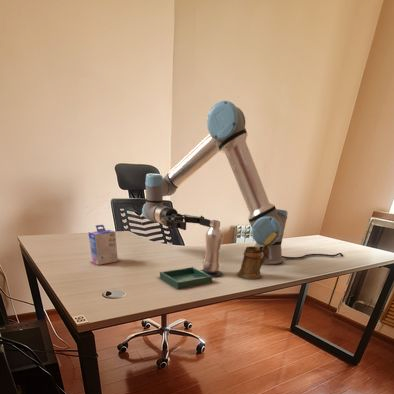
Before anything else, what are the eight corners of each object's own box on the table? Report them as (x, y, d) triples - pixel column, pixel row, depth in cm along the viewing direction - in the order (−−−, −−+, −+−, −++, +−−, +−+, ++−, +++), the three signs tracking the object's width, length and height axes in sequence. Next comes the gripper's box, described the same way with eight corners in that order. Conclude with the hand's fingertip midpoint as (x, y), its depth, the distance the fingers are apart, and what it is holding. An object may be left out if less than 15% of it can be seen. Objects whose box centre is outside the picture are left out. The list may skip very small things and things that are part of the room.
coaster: (212, 268, 131) (212, 268, 131) (226, 275, 125) (226, 274, 125) (195, 271, 126) (195, 270, 126) (208, 278, 120) (209, 277, 120)
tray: (192, 272, 125) (192, 266, 124) (211, 282, 117) (212, 276, 116) (159, 278, 117) (159, 272, 116) (177, 289, 109) (177, 282, 107)
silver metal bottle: (201, 269, 128) (205, 218, 117) (217, 270, 128) (222, 219, 118) (203, 274, 122) (207, 222, 112) (219, 275, 123) (225, 223, 112)
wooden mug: (273, 279, 125) (283, 233, 115) (242, 279, 122) (249, 232, 113) (265, 272, 132) (273, 228, 122) (235, 271, 130) (242, 227, 120)
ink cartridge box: (111, 258, 134) (108, 223, 126) (118, 261, 131) (116, 225, 123) (91, 262, 128) (86, 225, 120) (98, 265, 125) (94, 228, 117)
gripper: (187, 223, 144) (219, 232, 131) (143, 227, 130) (173, 237, 117) (188, 205, 140) (221, 213, 127) (142, 208, 126) (174, 216, 113)
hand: (198, 225), depth 122 cm, fingers open, 13 cm apart
